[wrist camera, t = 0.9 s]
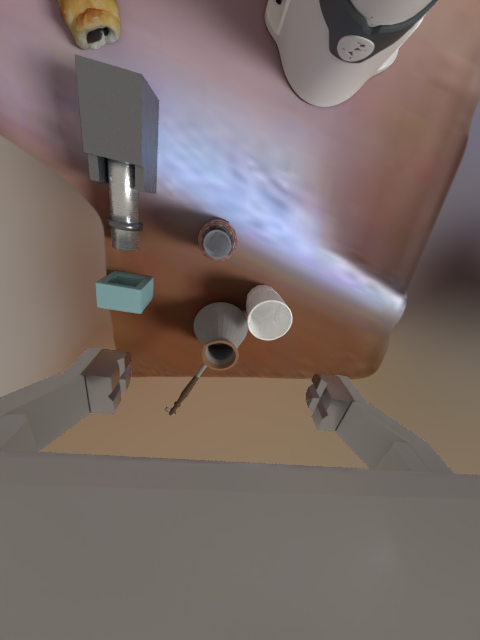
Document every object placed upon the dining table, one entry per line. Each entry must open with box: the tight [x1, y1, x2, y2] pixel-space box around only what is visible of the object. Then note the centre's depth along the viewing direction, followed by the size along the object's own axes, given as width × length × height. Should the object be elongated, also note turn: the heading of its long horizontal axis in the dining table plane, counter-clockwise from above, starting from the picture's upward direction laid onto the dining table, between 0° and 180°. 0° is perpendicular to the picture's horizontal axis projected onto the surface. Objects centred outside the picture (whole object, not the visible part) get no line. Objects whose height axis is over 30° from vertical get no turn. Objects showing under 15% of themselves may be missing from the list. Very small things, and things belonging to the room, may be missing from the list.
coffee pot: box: [165, 302, 248, 415], centre depth 45 cm, size 21×12×15 cm, turn 140°
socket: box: [95, 271, 154, 314], centre depth 41 cm, size 4×7×7 cm, turn 79°
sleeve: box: [75, 55, 159, 193], centre depth 31 cm, size 12×7×7 cm, turn 168°
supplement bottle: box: [198, 218, 237, 261], centre depth 36 cm, size 6×6×11 cm
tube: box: [106, 158, 143, 251], centre depth 33 cm, size 19×5×5 cm, turn 168°
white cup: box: [246, 285, 292, 340], centre depth 43 cm, size 8×8×10 cm
